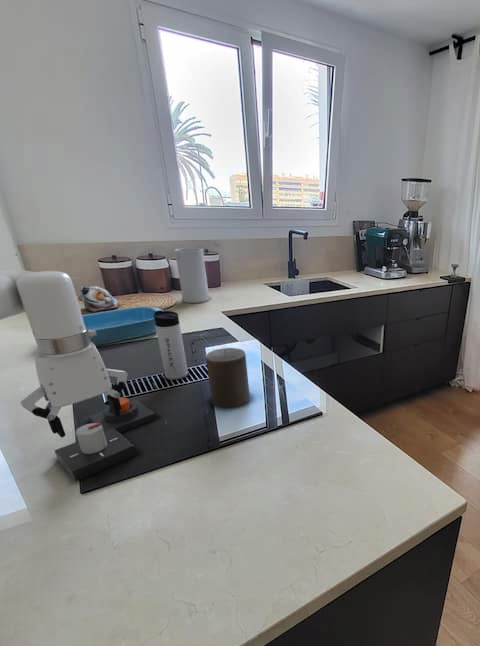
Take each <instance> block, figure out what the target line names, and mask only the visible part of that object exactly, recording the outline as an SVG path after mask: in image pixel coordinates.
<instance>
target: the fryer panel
mask: <svg viewBox="0 0 480 646" xmlns="http://www.w3.org/2000/svg"><path fill="white" fill-rule="evenodd" d="M104 435H105V438H106V442H107V446H106V448H104V449H103V450H101V451H99V452H97V453H93V454H84V453H83V452H82V451H81V448H80V445H79V441H78V440H77V441H75V442H72V443H70V444H68V445H65V446H62V447H60V448H57V449H55V450H54V453H55V456H56V459H57V461H58V462H59V463H60V465H61V466H62V467H63V468H64V470H65V471H66V472H67V473H68V474H69V476H70V477H71V478H72V479H73V481H74V482H78V481H80V480H83V479H85V478H87V477H89V476H92V475H94V474H96V473H98V472H100V471H103V470H106V469H108V468H110V467H112V466H115V465H117V464H119V463H122V462H124V461H126V460H128V459H130V458H132V457H135V456H136V455H137V453H136V452H137V451H136V449H135V445H134V444H133V443H132V442H130V441H129V440H128V439H127V438H126V437H125V436H124V435H122V434H121V433H119V432H118V431H116V430H115V429H114V428H112V429H110V430H107V431H104Z"/></svg>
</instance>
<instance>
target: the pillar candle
mask: <svg viewBox="0 0 480 646" xmlns="http://www.w3.org/2000/svg"><path fill="white" fill-rule="evenodd" d="M246 355H247V354H246V351H245V350H244V349H242V348H237V347H223V348H217V349H213V350H211V351H209V352H207V353H206V354H205V362H206V369H207V376H208V384H209V390H210V391H209V392H210V397H211V404H212V405H213V406H214V407H216V408H219V409H235V408H240V407H243V406H244V405H246V404H248V403H249V401H250V400H251V395H250V385H249V375H248V366H247V365H248V364H247V356H246Z"/></svg>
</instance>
